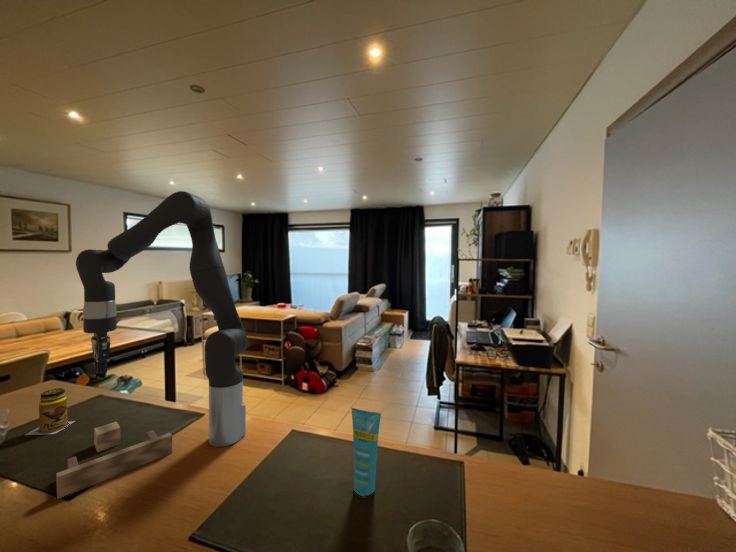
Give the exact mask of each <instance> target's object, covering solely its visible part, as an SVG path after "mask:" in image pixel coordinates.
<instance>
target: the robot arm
mask: <svg viewBox="0 0 736 552" xmlns="http://www.w3.org/2000/svg"><path fill="white" fill-rule="evenodd" d="M177 224H184V225H186V227H187V230H188V232H189V233H188V234H189V235H190V238H191V242H192V243H191V244H192V246H191V247H192V250H191V254H190V259H189V273H190V276H191V280H192V284H193V287H194V290H195V292H196V293H197V295H198V296H199V298H200V300H202V301H203V302H204V304H205V305H206V307H208V309H209V310H210V311H211V313H212V314H213V316H214V320H215V322H216V326H217V329H218V330H216V331H214V332H212V333H210V334H209V335H208V336H207V338H206V339H205V342H204V367H205V368H204V369H205V374H206V377H207V379H208V443H209V445H211V447H217V448H220V447H221V448H222V447H226V446H227V447H228V446H231V445H233V444H235V443H237V442H239V441H241V439H242V438H243V437H244V436H246V435H247V434H246V431H247V430H246V428H247V427H246V421H247V420H246V419H247V418H246V415H247V414H246V410H247V409H246V404H245V403H244V401H243V398H244V397H243V396H244V395H243V392H244V390H243V389H244V387H243V386H244V383H243V382H244V379H243V378H244V374H243V373H244V372H243V370H242V369H241V368H238V367H236V357H238V356H239V355H241V354H243V353H244V352H245V351H246V348H247V347H248V336H247V332H246V330H245V327H244V325H243V323H242V320H241V318H240V315H239V313H238V310H237V308H236V304H235V301H234V297H233V294H232V290H231V287H230V284H229V280H228V276H227V272H226V269H225V266H224V263H223V260H222V256H221V253H220V249H219V245H218V242H217V239H216V234H215V228H214V222H213V216H212V212H211V207H210V206H209V204H208V203H207V201H206V200H204V199H203V198H202V197H199V196H198V195H196V194H193V193H190V192H187V191H184V190H182V191H181V190H180V191H175V192H173V193H172V194H170V195H169V196H167V197H166V198H165V199H164V200H162V202H160V203H159V204H158V205H157V206H156V207H155V208H153V210H151V211H150V212H149V213H148V214H147V215H145V216H144V217H143V218H142V219H140V220H139V221H138V222H137V223H136V224H134V225H133V226H131V227H130V228H128V229H125V230H124V231H122V232H121V233H119V234H118V235H116V236H115V237H113V238H111V239H110V240H109V241H108V242H107V245H106V246H107V247H106V248H107V249H104V250H103V249H84V250H82V251H80V252H79V253H78V255H77V257H76V259H75V266H76V271H77V274H78V275H79V278H80V281H81V284H82V287H83V309H82V317H83V318H82V319H83V320H82V322H83V323H82V326H83V327H82V329H83V332H84V333H85V334H93V336H91V337H90V342H91V351H92V355H93V359H94V370H95V371H96V374H98V375H102V374H107V373H108V361H109V360H110V352H111V350H110V349H111V344H112V343H111V336H109V335H108V332H114V331H115V330H117V326H118V325H117V318H118V317H117V316H118V315H117V303H116V286H115V283H114V282H112V281H110V280H109V281H108V280H106V279H105V277H104V274H109V273H110V274H111V273H113V272H117V271H118V270H121V268H123V266H125V265H126V264H127V263H128V262H129V261H130V259H131V258H133V257H134V256H136V255H138V254H140V253H142V252H143V251H145V250H146V249H148V248H150V247H151V245H152V244H153V243H154V242H155V240H156V239H157V237H158V236H159V235H160V234H161V232H163V231H164V230H166V229H167V228H169V227H172V226H174V225H177Z"/></svg>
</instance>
